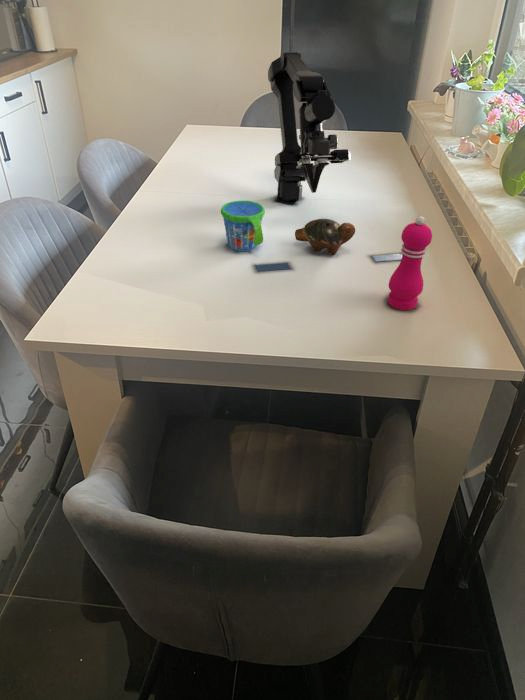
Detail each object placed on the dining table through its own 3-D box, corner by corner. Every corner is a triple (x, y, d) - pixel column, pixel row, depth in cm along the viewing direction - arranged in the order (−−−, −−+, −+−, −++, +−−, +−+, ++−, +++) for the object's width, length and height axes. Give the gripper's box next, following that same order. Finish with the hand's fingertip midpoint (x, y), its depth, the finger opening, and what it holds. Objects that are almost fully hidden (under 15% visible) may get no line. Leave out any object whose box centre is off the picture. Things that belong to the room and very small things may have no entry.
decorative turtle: (353, 260, 134) (355, 231, 129) (292, 257, 137) (292, 228, 132) (354, 241, 142) (356, 213, 137) (297, 239, 144) (297, 211, 139)
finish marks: (255, 265, 131) (255, 265, 130) (400, 254, 138) (400, 253, 138) (258, 271, 128) (258, 271, 128) (405, 259, 136) (405, 259, 136)
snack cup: (211, 237, 142) (211, 199, 136) (248, 230, 146) (249, 194, 140) (235, 263, 131) (236, 223, 125) (274, 255, 135) (276, 216, 129)
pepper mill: (381, 294, 122) (398, 209, 110) (412, 294, 122) (432, 209, 110) (390, 312, 116) (408, 224, 104) (423, 311, 117) (445, 224, 105)
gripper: (283, 123, 128) (287, 191, 131) (357, 121, 132) (359, 188, 135) (272, 132, 139) (276, 195, 142) (341, 130, 142) (343, 191, 146)
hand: (313, 192), depth 141 cm, fingers closed
